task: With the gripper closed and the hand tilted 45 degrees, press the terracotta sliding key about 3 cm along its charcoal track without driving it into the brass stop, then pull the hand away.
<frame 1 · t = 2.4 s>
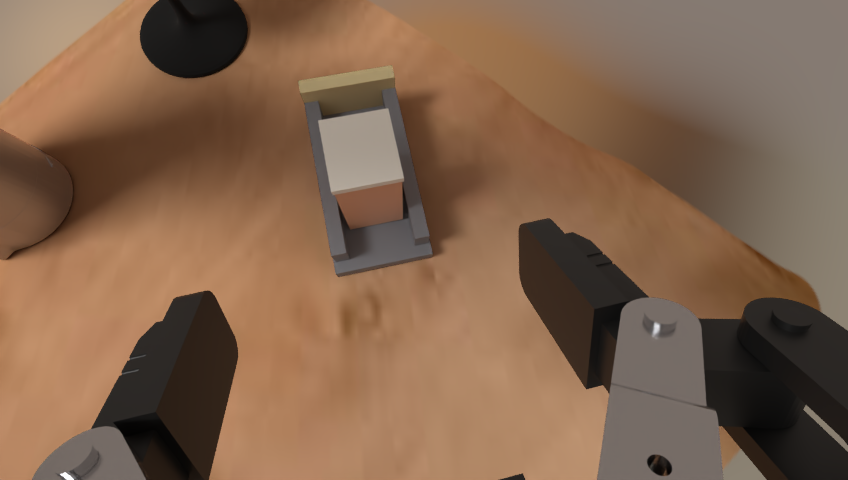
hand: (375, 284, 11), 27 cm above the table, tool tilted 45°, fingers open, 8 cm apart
wine glass: (196, 34, 43), on the table
key track: (364, 164, 41), on the table
sliding key: (366, 176, 33), point 6 cm above the table, slide at 0.0 cm
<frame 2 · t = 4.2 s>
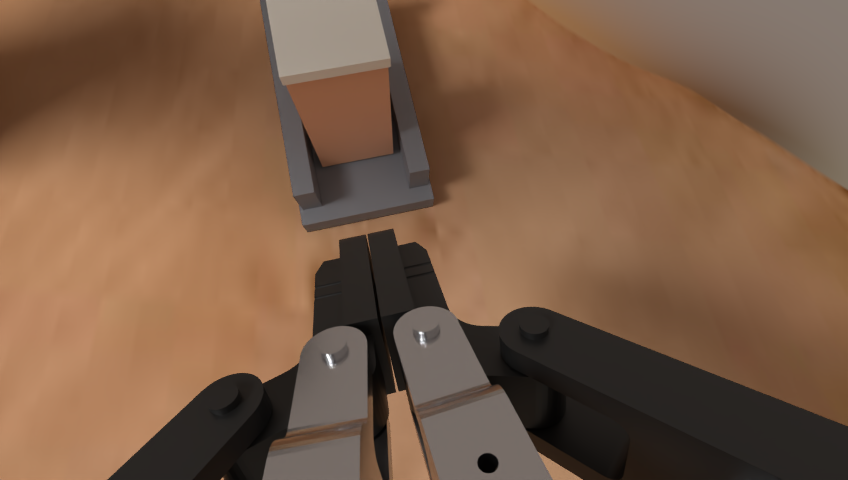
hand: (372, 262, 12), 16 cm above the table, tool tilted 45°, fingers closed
key track: (343, 88, 31), on the table
sliding key: (340, 82, 24), point 6 cm above the table, slide at 0.0 cm
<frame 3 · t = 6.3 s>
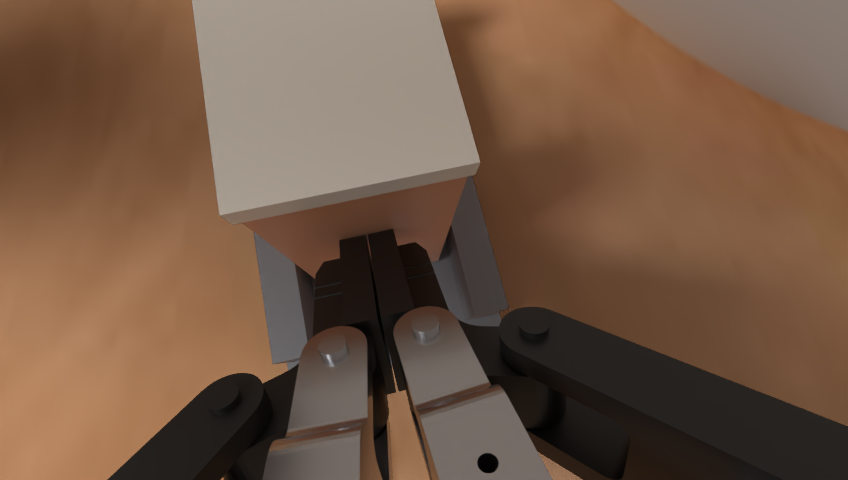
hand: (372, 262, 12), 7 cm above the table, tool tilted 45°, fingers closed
key track: (355, 147, 20), on the table
sliding key: (356, 166, 13), point 7 cm above the table, slide at 0.1 cm, touching gripper
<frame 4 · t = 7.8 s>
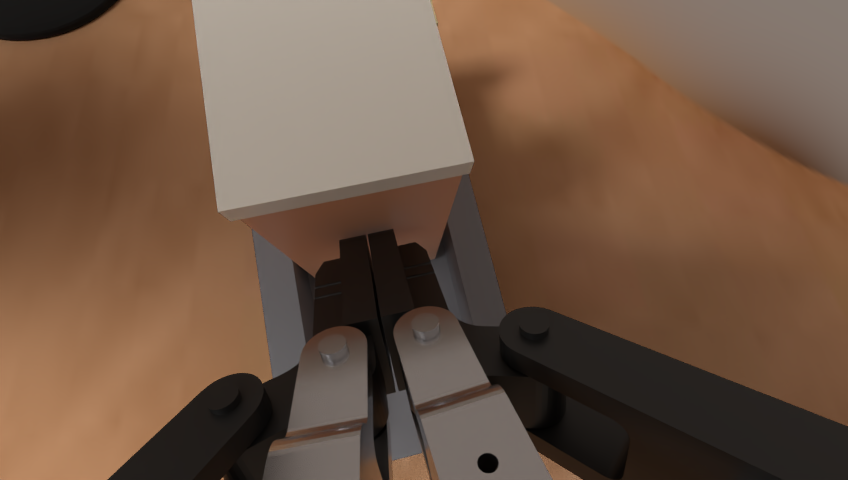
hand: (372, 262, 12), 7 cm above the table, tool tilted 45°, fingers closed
key track: (367, 213, 20), on the table
sliding key: (353, 165, 13), point 7 cm above the table, slide at 3.5 cm
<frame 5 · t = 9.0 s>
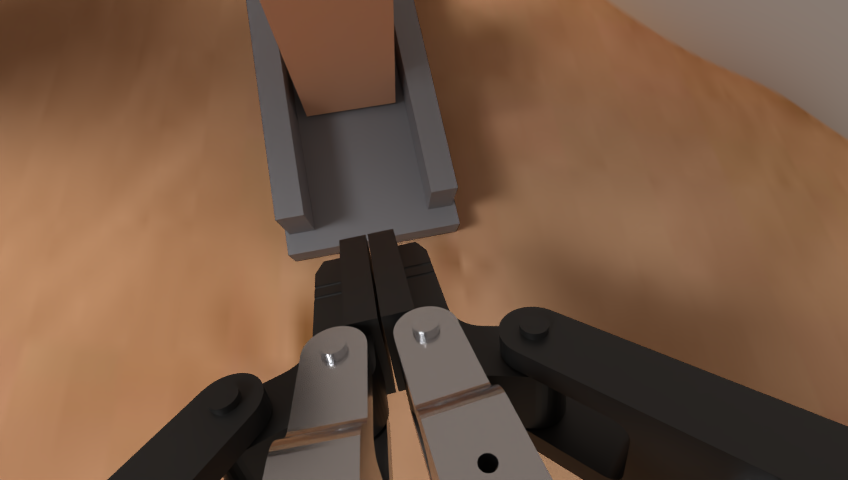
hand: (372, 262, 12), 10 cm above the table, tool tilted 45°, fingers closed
key track: (346, 78, 25), on the table
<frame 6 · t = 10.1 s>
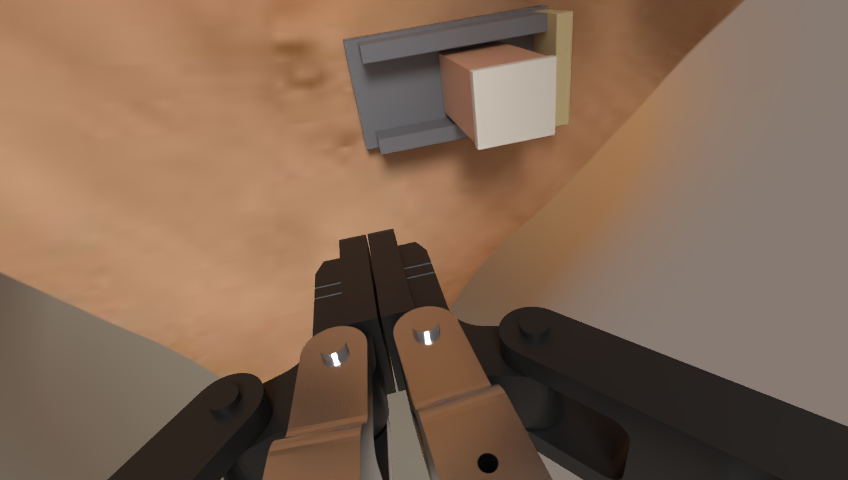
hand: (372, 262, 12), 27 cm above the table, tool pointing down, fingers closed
key track: (472, 73, 36), on the table
sliding key: (491, 89, 31), point 7 cm above the table, slide at 3.5 cm
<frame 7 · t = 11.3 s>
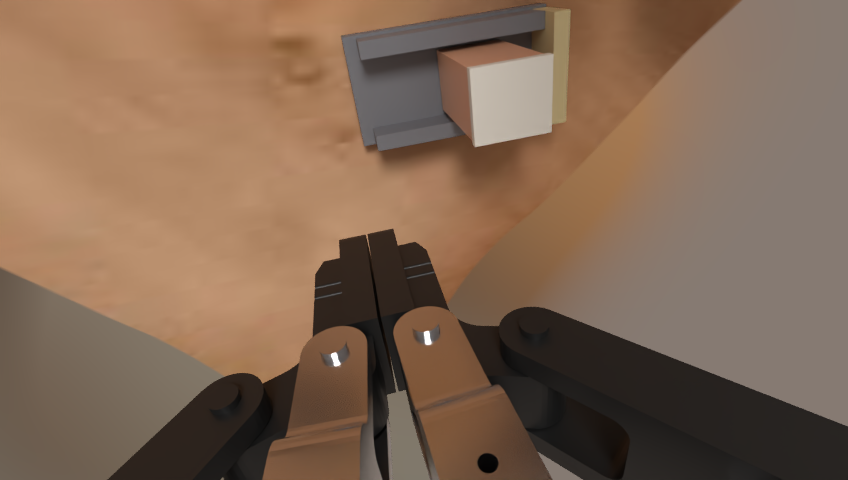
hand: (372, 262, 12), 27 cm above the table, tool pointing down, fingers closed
key track: (470, 70, 36), on the table
sliding key: (488, 87, 31), point 7 cm above the table, slide at 3.5 cm
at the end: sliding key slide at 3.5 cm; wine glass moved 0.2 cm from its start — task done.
